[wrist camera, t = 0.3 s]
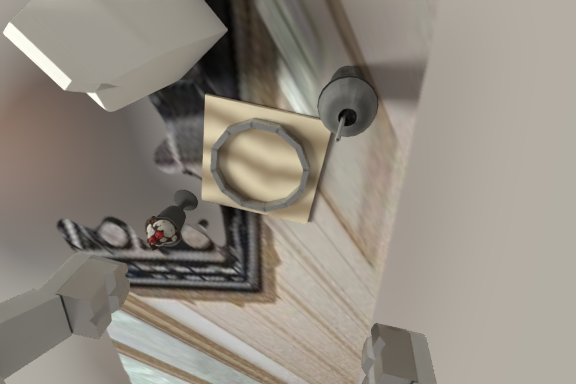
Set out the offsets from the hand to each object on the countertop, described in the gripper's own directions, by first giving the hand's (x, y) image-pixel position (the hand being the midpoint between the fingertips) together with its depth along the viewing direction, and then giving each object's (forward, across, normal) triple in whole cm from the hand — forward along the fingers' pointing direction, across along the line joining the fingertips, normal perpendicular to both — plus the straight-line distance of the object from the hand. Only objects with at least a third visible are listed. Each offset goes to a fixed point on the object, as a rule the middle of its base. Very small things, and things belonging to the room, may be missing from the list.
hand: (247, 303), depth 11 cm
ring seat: (+45, +7, +20) cm, 50 cm away
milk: (+45, +23, 0) cm, 51 cm away
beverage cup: (+45, -4, +4) cm, 46 cm away
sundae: (+45, +21, +32) cm, 60 cm away
